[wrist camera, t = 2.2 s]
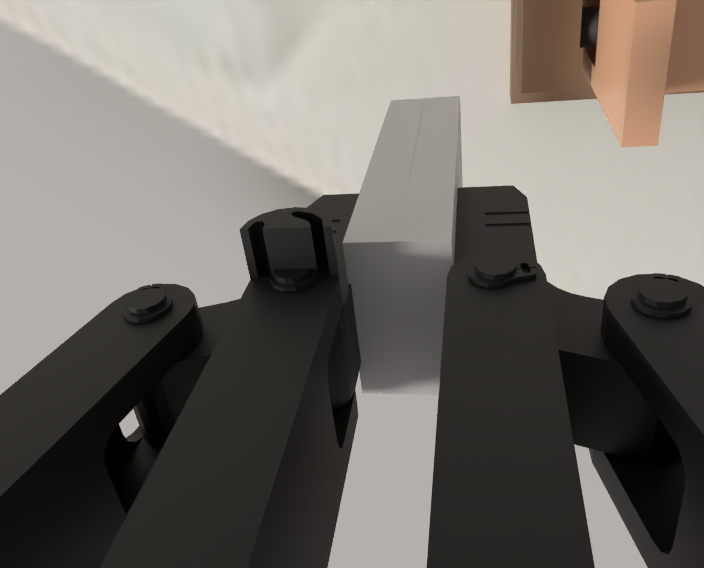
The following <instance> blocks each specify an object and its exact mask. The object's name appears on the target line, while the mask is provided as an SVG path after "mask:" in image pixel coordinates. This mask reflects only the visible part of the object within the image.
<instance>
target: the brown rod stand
mask: <svg viewBox="0 0 704 568" xmlns="http://www.w3.org/2000/svg"><path fill="white" fill-rule="evenodd" d="M586 2H587V0H511V63H510V98H511V104H514V103H531V102H548V101H564V100H581V99H597V97H596V95H595V93H594V91H593V89H592V87H591V85H590V83H589V81H588V79H587V77H586V75H585V73H584V71H583V69H582V63H583V48H584V47H597V36H598V23H599V10H600V6H588V7H586ZM698 92H704V91H688V92H671V93H665V94H681V93H698Z"/></svg>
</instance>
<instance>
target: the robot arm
mask: <svg viewBox="0 0 704 568" xmlns="http://www.w3.org/2000/svg"><path fill="white" fill-rule="evenodd" d="M240 233H241V238H242V242H243V247H244V251H245V256H246V260H247V265H248V269H249V274H250V278H251V280H250V282H249V284H248V286H247V288H246V289H245V291H244V293H243V295H242V297H241V299H238V300H234V301H230V302H226V303H221V304H216V305H211V306H207V307H201V308H198V306H197V302H196V298H195V295H194V294H193V293H192V292H191V291H190V290H189V288H187V287H183V286H180V285H177V284H152V286H150V285H147V286H143V287H140V288H138V289H137V290H135V291H132V292H129V293H127V294H125V295H123V296H122V297H120V298H119V299H117V300H115V301H114V302H112V303H111V304H110V305H109V306H107V307H106V308H105V309H104V310H103V311H101V312H100V313H99V314H98V315H97V316H95V317H94V318H93V319H92V320H90V321H89V322H88V323H87V324H86V325H84V326H83V327H82V328H81V329H80V330H78V331H77V332H76V333H75V334H74V335H72V336H71V337H70V338H69V339H68V340H66V341H65V342H64V343H63V344H61V345H60V346H59V347H58V348H57V349H56V350H54V351H53V352H52V353H50V354H49V355H48V356H47V357H46V358H45V359H43V360H42V361H41V362H40V363H38V364H37V365H36V366H35V367H34V368H32V369H31V370H30V371H29V372H28V373H26V374H25V375H24V376H23V377H21V378H20V379H19V380H18V381H17V382H15V383H14V384H13V385H12V386H11V387H9V388H8V389H7V390H6V391H5V392H3V393H2V394H1V395H0V568H327V566H328V562H329V556H330V552H331V547H332V542H333V537H334V532H335V527H336V522H337V517H338V512H339V507H340V503H341V497H342V492H343V488H344V482H345V478H346V473H347V468H348V463H349V458H350V453H351V448H352V443H353V439H354V434H355V428H356V424H357V419H358V409H357V400H356V393H355V387H356V382H357V378H358V373H359V371H360V378H361V386H362V393H382V394H439V399H438V415H437V429H436V443H435V457H434V472H433V485H432V500H431V514H430V529H429V544H428V559H427V568H595V567H594V561H593V555H592V549H591V543H590V537H589V531H588V526H587V519H586V513H585V508H584V501H583V495H582V489H581V484H580V477H579V472H578V466H577V459H576V453H575V447H574V444H576V445H579V446H583V447H587V448H589V451H590V455H591V459H592V463H593V465H594V467H595V468H596V470H597V472H598V474H599V476H600V478H601V480H602V482H603V484H604V485H605V487H606V489H607V491H608V493H609V495H610V497H611V499H612V500H613V502H614V504H615V506H616V508H617V510H618V512H619V514H620V516H621V518H622V520H623V521H624V523H625V525H626V527H627V529H628V531H629V533H630V535H631V537H632V539H633V540H634V542H635V544H636V546H637V548H638V550H639V552H640V554H641V556H642V557H643V559H644V561H645V563H646V565H647V567H648V568H704V287H703V286H702V285H700V284H698V283H695V282H692V281H689V280H687V279H684V278H681V277H678V276H674V275H669V274H668V275H666V274H657V273H655V274H640V275H634V276H630V277H626V278H623V279H620V280H618V281H617V282H615V283H614V284H612V285H611V286H609V287H608V289H607V292H606V294H605V297H604V300H601V299H596V298H590V297H584V296H580V295H576V294H572V293H569V292H566V291H564V290H561V289H559V288H557V287H555V286H553V285H552V284H550V283H549V282H547V280H546V274H545V272H544V271H543V269H542V267H541V265H540V264H538V263H537V259H536V252H535V246H534V240H533V233H532V227H531V220H530V214H529V208H528V201H527V197H526V196H525V195H524V194H522V193H521V192H520V191H519V190H518V189H517V188H515V187H514V186H491V187H465V188H462V155H461V118H460V96H454V97H439V98H424V99H408V100H393V101H391V102H390V105H389V108H388V111H387V114H386V117H385V120H384V123H383V126H382V129H381V132H380V134H379V137H378V140H377V143H376V146H375V149H374V152H373V155H372V158H371V161H370V164H369V167H368V170H367V173H366V176H365V178H364V181H363V184H362V187H361V190H360V193H359V194H340V195H323V196H322V197H320V198H319V199H318V200H316V201H315V202H314V203H312V204H311V205H310V206H308V207H307V208H297V207H294V208H286V209H278V210H274V211H271V212H268V213H264V214H261V215H259V216H257V217H255V218H253V219H251V220H249V221H248V222H247V223H246V224H245V225H244V226H243V227H242V228H241V229H240ZM132 409H134V412H135V414H136V417H137V420H138V422H139V425H140V426H139V427H138V428H137V429H136V430H135V431H134V433H132V434H131V435H130V436H128V437H127V438H125V437H124V435H123V434H122V431H121V428H120V426H119V423H120V422H121V421H122V420H123V419H124V418H125V417H126V415H127V414H128V413H129V412H130V411H131V410H132Z"/></svg>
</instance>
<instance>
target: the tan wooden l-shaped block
mask: <svg viewBox="0 0 704 568" xmlns="http://www.w3.org/2000/svg"><path fill="white" fill-rule="evenodd" d="M588 6H600V10H599V23H598V36H597V47H584V48H583V63H582V69H583V71H584V73H585V75H586V77H587V79H588V81H589V83H590V85H591V87H592V89H593V91H594V93H595V95H596V97H597V99H598V101H599V103H600V105H601V107H602V109H603V111H604V113H605V115H606V117H607V119H608V121H609V123H610V125H611V127H612V129H613V131H614V133H615V135H616V137H617V139H618V141H619V143H620V145H621V147H635V146H656V145H658V140H659V132H660V124H661V117H662V109H663V101H664V94H665V93H671V92H688V91H704V0H587V2H586V7H588Z"/></svg>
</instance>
